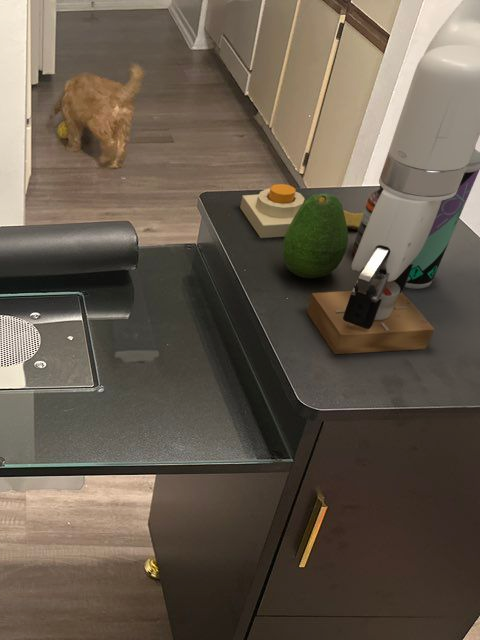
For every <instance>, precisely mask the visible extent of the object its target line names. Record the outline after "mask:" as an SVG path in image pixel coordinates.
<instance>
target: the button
mask: <svg viewBox="0 0 480 640" xmlns="http://www.w3.org/2000/svg"><path fill="white" fill-rule="evenodd" d="M269 188H270V193H269V197H268V200H270V201H272V202H274V203H280V204H287V203H292V202H293V200H294V196H295V192H297V189H296V188H295V187H294V186H292V185H290V184H285V183H284V184H283V183H277V184H273V185H271V187H269Z"/></svg>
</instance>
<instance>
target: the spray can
mask: <svg viewBox="0 0 480 640" xmlns="http://www.w3.org/2000/svg"><path fill="white" fill-rule="evenodd" d="M476 146H477V145H476ZM476 146H475V148H474V151H473V153H472V155H471V158H470V160H469V163H468V165H467V168H466V170H465V173H464V175H463V178H462V180H461V183H460V185H459V187H458V190H457V193H456V194H455V195H454V196H453V197H451V198H449V199H446V200H442V202H441V205H440V207H439V210H438V213H437V215H436V218H435V221H434V223H433V226H432V228H431V230H430V233H429V235H428V237H427V240H426V242H425V244H424V246H423V248H422V250H421V251H420V253H419V254H418V255H417V257H416V258H415V259H414V261H413V262H412V263H411V264H413V266H412V269H411V272H410V274H409V277H408V279H407V282H406V284H405V287H404V288H407V289H417V290H419V289H425V288H428V287H430V286H431V285H432V282H433V280H434V278H435V277H436V273H437V271H438V269H439V266H440V264H441V262H442V259H443V258H444V255H445V252H446V250H447V248H448V245H449V243H450V241H451V239H452V237H453V234H454V231H455V229H456V227H457V225H458V222H459V219H460V218H461V215H462V214H463V213H462V212H463V210H464V207H465V205H466V203H467V201H468V198H469V197H470V196H469V195H470V194H471V191H472V189H473V186H474V184H475V182H476V180H477V177H478V175H479V172H480V151H478V150H477V149H476Z"/></svg>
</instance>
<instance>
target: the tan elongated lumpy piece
mask: <svg viewBox="0 0 480 640" xmlns="http://www.w3.org/2000/svg"><path fill="white" fill-rule="evenodd" d="M343 211H344V215H345V220H346V224H347V229H352V230H356V231H358V229H359V226H360V223H361V220H362V217H363V213H364V212H360V213H359V212H357V213H354V212H350V211H346V210H344V209H343Z"/></svg>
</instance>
